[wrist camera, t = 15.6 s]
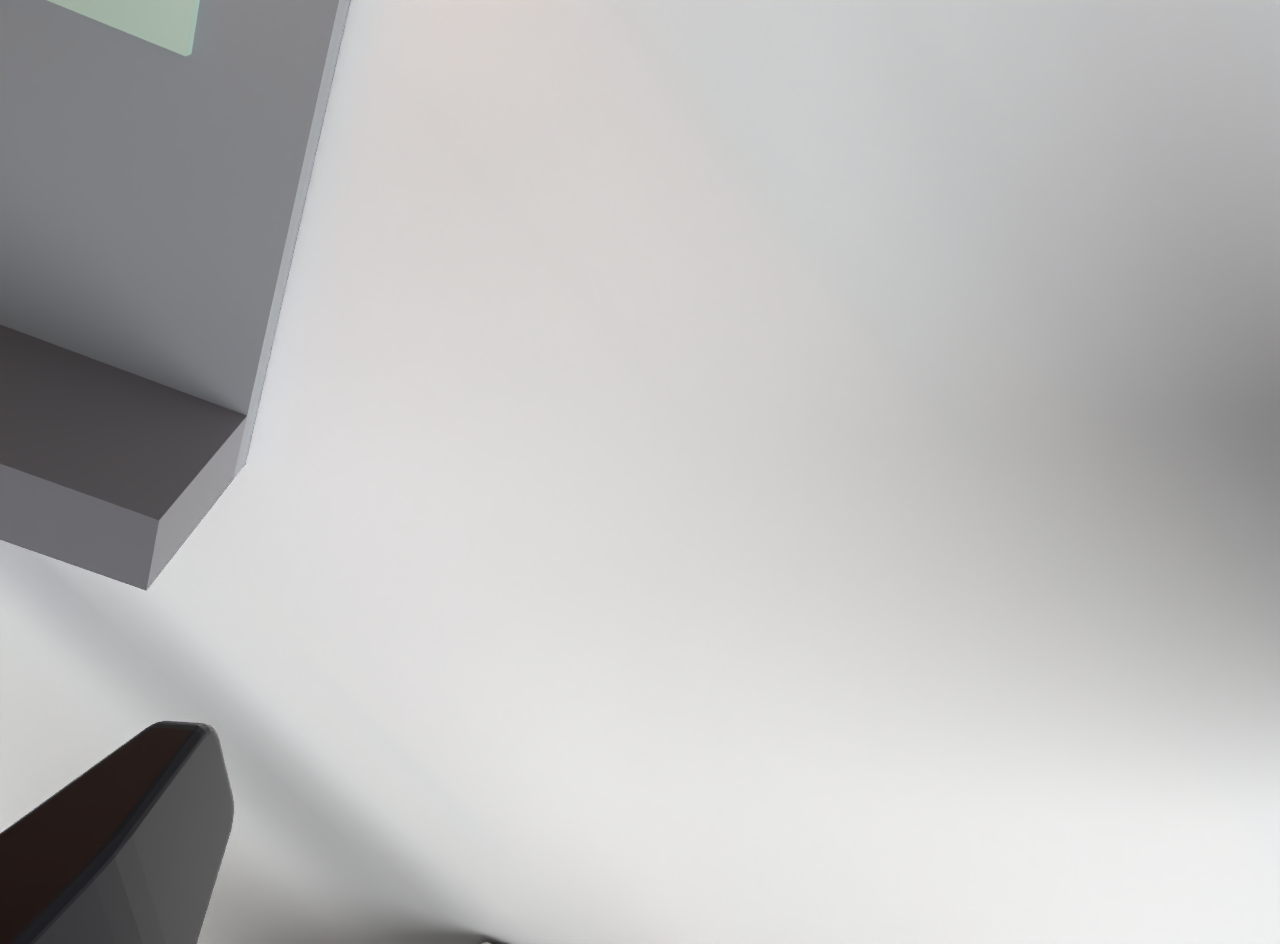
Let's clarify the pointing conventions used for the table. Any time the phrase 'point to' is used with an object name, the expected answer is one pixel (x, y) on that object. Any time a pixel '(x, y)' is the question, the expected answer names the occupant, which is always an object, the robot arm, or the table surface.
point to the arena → (145, 257)
